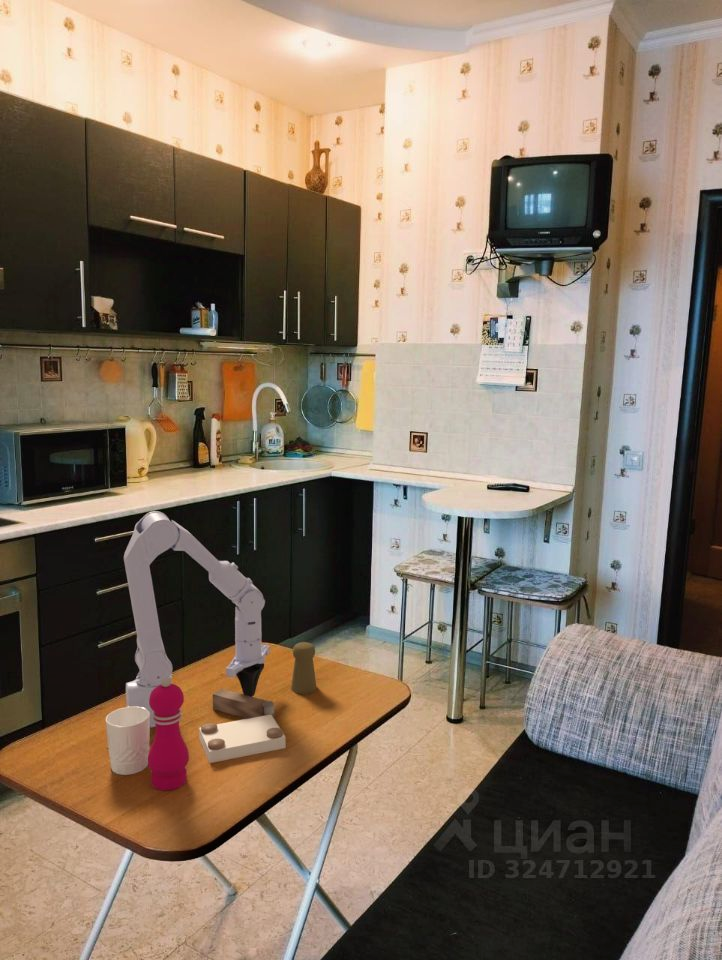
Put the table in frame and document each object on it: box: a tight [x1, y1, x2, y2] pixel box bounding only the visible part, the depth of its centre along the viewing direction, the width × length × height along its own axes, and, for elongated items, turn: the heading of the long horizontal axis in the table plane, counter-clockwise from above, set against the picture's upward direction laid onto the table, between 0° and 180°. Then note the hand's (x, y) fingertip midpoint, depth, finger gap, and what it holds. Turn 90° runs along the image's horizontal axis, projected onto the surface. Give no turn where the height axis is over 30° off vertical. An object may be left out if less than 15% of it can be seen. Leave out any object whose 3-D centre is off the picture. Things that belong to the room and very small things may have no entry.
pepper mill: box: [147, 677, 190, 791], centre depth 134 cm, size 7×7×20 cm
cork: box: [290, 641, 318, 695], centre depth 173 cm, size 6×6×11 cm
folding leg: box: [212, 688, 275, 719], centre depth 160 cm, size 15×3×4 cm, turn 63°
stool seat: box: [198, 715, 287, 764], centre depth 148 cm, size 15×10×3 cm, turn 113°
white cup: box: [105, 706, 151, 776], centre depth 139 cm, size 8×8×10 cm
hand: (249, 695), depth 167 cm, fingers closed
